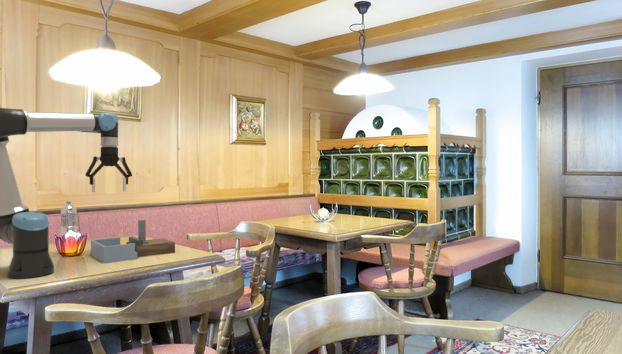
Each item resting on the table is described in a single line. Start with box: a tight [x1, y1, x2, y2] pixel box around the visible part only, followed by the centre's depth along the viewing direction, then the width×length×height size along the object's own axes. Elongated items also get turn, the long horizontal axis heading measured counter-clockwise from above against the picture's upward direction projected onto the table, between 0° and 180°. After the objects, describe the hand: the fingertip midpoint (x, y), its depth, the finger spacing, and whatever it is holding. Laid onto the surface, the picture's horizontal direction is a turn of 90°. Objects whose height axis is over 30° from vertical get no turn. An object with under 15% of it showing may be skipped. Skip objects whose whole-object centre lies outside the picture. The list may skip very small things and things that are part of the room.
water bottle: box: [60, 200, 78, 236], centre depth 215 cm, size 7×7×25 cm
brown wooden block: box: [125, 238, 176, 258], centre depth 216 cm, size 16×18×5 cm
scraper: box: [128, 219, 148, 246], centre depth 212 cm, size 15×6×11 cm, turn 38°
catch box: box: [90, 237, 138, 264], centre depth 205 cm, size 24×14×7 cm, turn 38°
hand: (109, 191), depth 210 cm, fingers open, 13 cm apart
